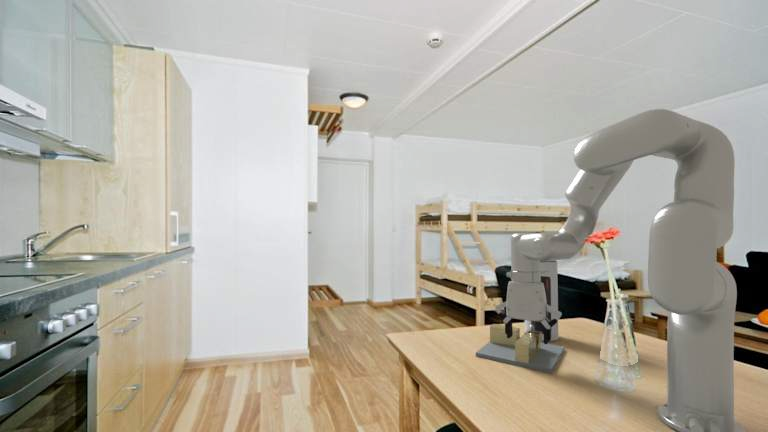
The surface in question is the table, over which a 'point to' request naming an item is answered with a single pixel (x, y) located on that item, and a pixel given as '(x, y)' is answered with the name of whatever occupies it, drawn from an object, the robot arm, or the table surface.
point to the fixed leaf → (501, 338)
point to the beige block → (527, 346)
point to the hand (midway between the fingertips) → (527, 339)
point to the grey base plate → (506, 354)
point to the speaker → (548, 297)
